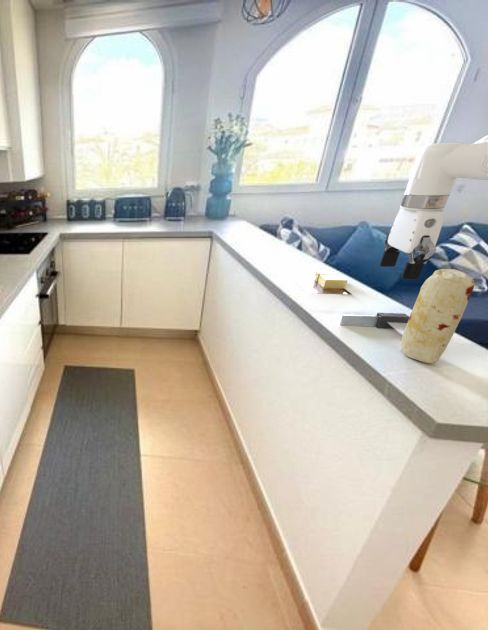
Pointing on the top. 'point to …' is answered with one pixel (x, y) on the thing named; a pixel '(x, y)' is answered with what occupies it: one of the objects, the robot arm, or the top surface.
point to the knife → (375, 320)
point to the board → (316, 286)
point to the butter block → (332, 281)
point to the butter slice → (324, 274)
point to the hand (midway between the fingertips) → (397, 272)
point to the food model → (436, 314)
